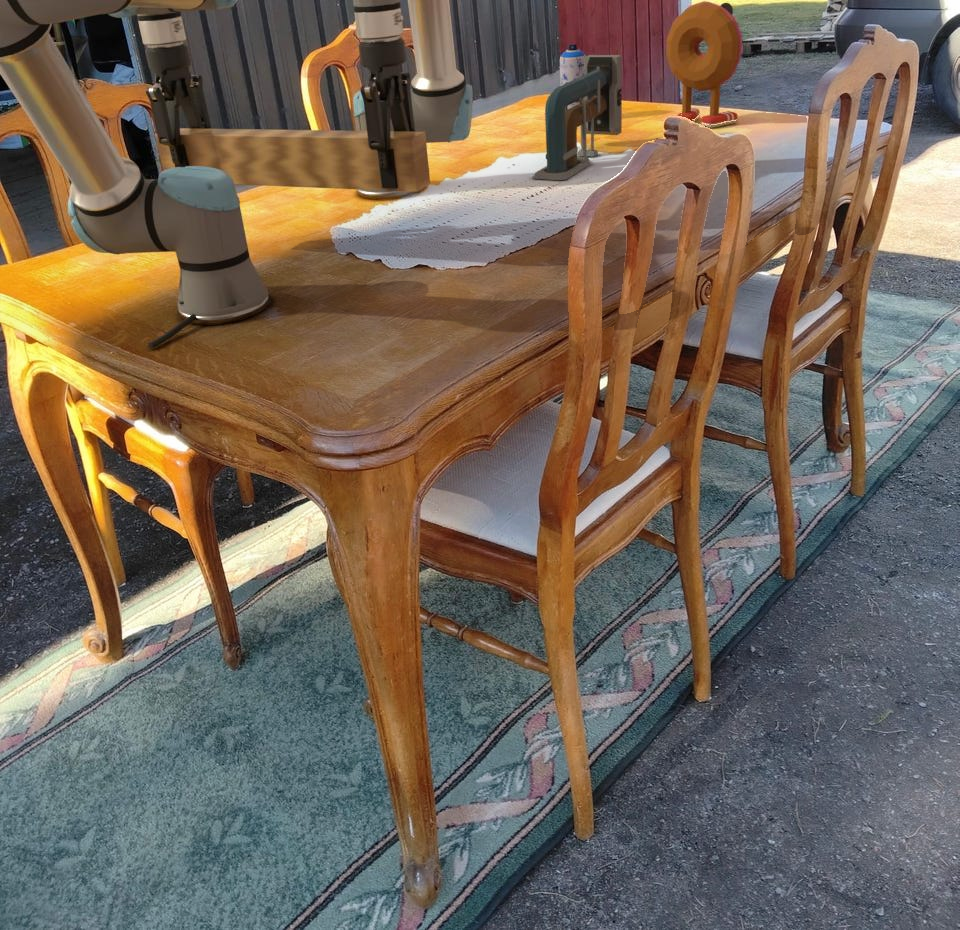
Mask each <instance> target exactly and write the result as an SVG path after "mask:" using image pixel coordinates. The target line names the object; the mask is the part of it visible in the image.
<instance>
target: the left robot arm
mask: <svg viewBox="0 0 960 930" xmlns="http://www.w3.org/2000/svg"><path fill="white" fill-rule="evenodd" d="M237 2H238V0H0V76H1V77H2V79H3V80H4V82H5V83H6V85H7V86H8V89H9V90H10V91H11V93H12V94H13V96H14V97H15V99H16V100H17V101H18V103H19V105H20V106H21V108H22V109H23V111H24V112H25V114H26V115H27V117H28V118H29V120H30V121H31V123H32V124H33V126H34V127H35V129H36V130H37V132H38V133H39V135H40V137H41V138H42V140H43V141H44V143H45V144H46V146H47V147H48V149H49V150H50V152H51V153H52V155H53V156H54V158H55V159H56V161H57V162H58V164H59V165H60V167H61V168H62V170H63V172H64V173H65V175H66V176H67V177H68V179H69V181H70V182H71V183H70V186H69V196H68V200H67V211H68V216H69V217H71V222H70V225H71V227H72V229H73V231H74V233H75V235H76V236H77V238H78V239H79V240H80V241H81V243H83V244H84V245H85V246H86V247H87V248H88V249H90V250H92V251H94V252H96V253H100V254H112V255H125V254H142V253H143V254H144V253H145V254H146V253H168V252H169V253H175V254H176V258H177V262H178V266H179V283H178V294H177V310H178V314H179V318H180V319H182V320H181V322H179V323H178V324H177V325H175V326H174V327H172V328H171V329H170V330H168V331H167V332H166V333H164V334H162V335H161V336H159V337H157V338H156V339H154V340H152V341H149V342H148V344H147V346H148V348H149V349H155V348H156V347H158V346H160V345H161V344H164V343H166V342H167V341H168V340H169V339H171V338H172V337H174V336H175V335H176V334H177V333H179V332H180V331H182V330H183V329H184V328H186V327H187V326H188V325H190V324H193V325H202V326H203V325H204V326H205V325H206V326H210V325H222V324H230V323H233V322H239V321H241V320H245V319H248V318H251V317H253V316H256V315H258V314H260V312H263V311H264V310H265V309H266V308H267V307H268V306H269V305H270V296H269V292H268V290H267V287H266V284H265V283H264V282H263V280H262V278H261V276H260V274H259V272H258V270H257V269H256V267H255V265H254V264H253V262H252V260H251V257H250V251H249V246H248V241H247V240H248V239H247V236H246V231H245V226H244V225H245V224H244V220H243V216H242V210H241V201H240V198H239V196H238V193H237V188H236V185H234V181H233V179H232V178H231V177H230V176H229V175H228V174H227V173H225V172H224V171H222V170H219V169H216V168H211V167H203V166H189V163H188V158H187V154H186V149H185V145H184V144H181V139H180V128H181V126H180V125H181V122H180V107H181V110H182V112H183V115H184V117H185V120H186V122H187V126H188V127H189V128H190V129H212V125H211V120H210V115H209V110H208V106H207V102H206V98H205V92H204V89H203V84H204V83H203V76H202V75H201V74H192V73H191V71H190V69H189V67H191V66H192V58H191V54H190V48H189V45H188V44H187V43H185V41H186V40H187V36H186V31H185V26H184V22H183V18H182V12H192V11H194V12H195V11H212V10H213V11H215V10H216V11H219V10H221V9H229V8H232V7H234V6H235V5H236V3H237ZM97 15H108V16H110V17H113V18H119V19H120V18H121V19H122V18H123V19H125V18H133V16H136V17H137V21H138V26H139V32H140V36H141V39H142V44H143V45H145V46H147V47H145V50H144V52H145V56H146V57H145V58H146V61H147V65H148V68H149V70H151V71H152V72H153V73H154V84H153V85H152V86H151V87H146V88H145V89H144V90H145V94H146V96H147V98H148V100H149V104H150V107H151V112H152V117H153V121H154V126H155V130H156V134H157V135H158V140H159V143H160V144H163V145H167V146H169V149H170V153H171V157H172V161H173V163H174V164H175V168H170V169H167V170H164V171H163V170H162V171H161V172H160V173H159V174H158V176H157V177H158V178H155V179H154V178H153V179H151V178H150V179H147V178H145V176H144V175H143V173H142V171H141V170H140V168H139V166H138V165H137V164H136V163H135V161H133V160H132V159H130V158H127V157H123V156H122V155H121V154H120V153H119V151H118V149H117V147H116V145H115V144H114V142H113V140H112V138H111V137H110V136H109V133H108V131H107V130H106V128H105V127H104V125H103V123H102V122H101V120H100V118H99V116H98V115H97V113H96V111H95V109H94V108H93V106H92V104H91V103H90V101H89V99H88V98H87V96H86V94H85V93H84V91H83V89H82V87H81V85H80V83H79V82H78V81H77V79H76V76H75V75H74V74H73V72H72V71H71V68H70V66H69V65H68V63H67V61H66V60H65V58H64V56H63V55H62V53H61V51H60V50H59V48H58V46H57V45H56V42H55V41H54V39H53V37H52V36H51V34H50V31H51V28H52V26H53V24H59V23H64V22H70V21H74V20H79V19H83V18H88V17H92V16H97ZM173 137H174V138H173Z"/></svg>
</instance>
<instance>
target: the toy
mask: <svg viewBox="0 0 960 930" xmlns="http://www.w3.org/2000/svg"><path fill="white" fill-rule="evenodd" d="M733 14H734V8H733V6H732V5H731V3H729V2H723V3H722V4H720V5H719V4H716V3H713V2H711V1H706V0H703V1H700V2H697V3H694V4H691V5H689V6H687V7H686V9H685V10H683V11H682V12H681V13H680V14H679V15H678V16H677V17H676V18H675V19H674V21H673V22H672V24H671V27H670V29H669V32H668V35H667V37H666V51H665V52H666V53H665V54H666V55H665V56H666V59H667V63H668V66H669V68H670V72H671V73H672V74H673V75H674V77H675V78H676V79H677V80H678V82H680V83H681V85H682V92H681V93H682V97H681V99H682V100H681V102H682V103H681V105H682V106H681V107H682V108H681V109H682V110H681V112H682V113H680V112H679V113H678V114H677V115H676V117H677V116H682V117H686V118H688V119H690V120H691V121H694V120H692V119H695V118H696V117H697V116H698V115H699V114H700V113H701V112H700V110H699V109H698V108H695V107H692V100H693V89H694V90H696V91H699V92H701V91H703V92H704V91H705V92H706V91H710V99H709V100H710V101H709V114H707V115H703V116H702V117H701V120H700V123H701V122H703V123H706V124H709V125H705V124H702V123H701V126H702V125H704V126H706V127H705V128H710V129H711V128H713V129H714V128H717V127H722V126H726V125H733V124H736V123H737V122H738V117H739V116H738V113H737V112H735V111H729V110H727V111H722V112H720V104H721V103H720V101H721V86H722V85H723V84H725V83H726V82H728V81H729V80H730V79H731V78H732V77H733V75H734V74H735V73H736V70H737V68H738V65H739V63H740V61H741V57H742V52H743V51H742V50H743V37H742V31H741V29H740V26H739V23H738V21H737V19H736V18H735V17H734V16H733ZM702 42H705V43H706V45H707V51H706V52H705V53H703V52H702V51H701V49H700V44H701V43H702ZM681 114H682V115H681ZM698 119H700V115H699V117H698V118H696V119H695V120H696V121H697V120H698ZM736 119H737V120H736ZM731 120H736V121H731ZM696 121H694V123H695V122H696ZM724 121H731V122H726V123H722V124H717V123H721V122H724ZM711 124H717V125H711ZM704 126H703V127H704Z"/></svg>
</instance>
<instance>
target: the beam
mask: <svg viewBox="0 0 960 930" xmlns="http://www.w3.org/2000/svg"><path fill="white" fill-rule="evenodd" d="M154 137H155V141H156V146H157V150H158V154H159V158H160V163H161V168H162V172H163V171H164V170H167V169H170V168H175V164H174V163H173V161H172V157H171V153H170V149H169V146H167V145H163V144H160V143H159V140H158V135H157V133H155V134H154ZM173 138H174V137H173ZM180 139H181V144H184V145H185V149H186V154H187V158H188V163H189V166H203V167H211V168H216V169H219V170H222V171H224V172H225V173H227V174H228V175H229V176H230V177H231V178H232V179H233V181H234V185H235V186H260V187H261V186H263V187H264V186H265V187H287V188H311V189H312V188H315V189H339V190H357V189H361V190H386V191H412V192H417V193H419V192H420V191H421V190H423V189H424V188H426V187H428V186H429V185H430V184H431V176H430V166H429V165H430V164H429V156H428V146H427V145H428V144H427V143H426V135H425V132H408V131H390V149H394V158H395V166H396V175H397V183H398V188H396V189H389V188H382V184H381V176H380V168H379V160H378V152H377V150H371V149H370V148H369V143H368V135H367V131H356V130H332V129H331V130H330V129H329V130H328V129H327V130H326V129H325V130H324V129H323V130H322V129H317V130H316V129H255V128H249V129H248V128H211V129H190V127H189V128H188V127H187V128H183V127H182V128H181V127H180ZM419 190H420V191H419ZM418 191H419V192H418Z"/></svg>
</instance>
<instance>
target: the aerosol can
mask: <svg viewBox="0 0 960 930" xmlns="http://www.w3.org/2000/svg"><path fill="white" fill-rule="evenodd" d="M586 56H587V55H586V54H585V52H584V51H583V50H581V49H579V48H578V44H577V43H574V44H568V48H567V49H566V50H565V51H563V52H562V53H561V55H560V56H559V79H560V81H559V83H560V84H559V86H562V85H564V84H566V83H568V82H570V81H573V80H575V79H577V78H579V77H581V76H583V75H585V57H586ZM578 104H580V102H574V103H572V104H570V105H568V109H570V108H572V107H574V106H576V105H578Z"/></svg>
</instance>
